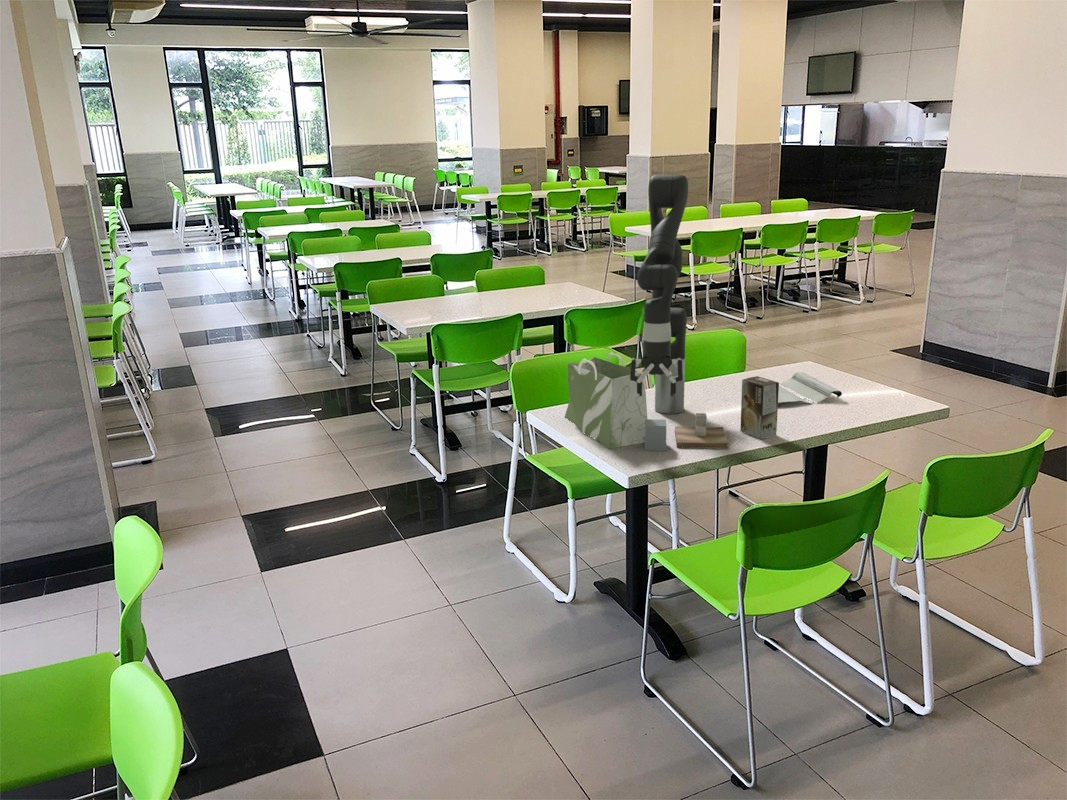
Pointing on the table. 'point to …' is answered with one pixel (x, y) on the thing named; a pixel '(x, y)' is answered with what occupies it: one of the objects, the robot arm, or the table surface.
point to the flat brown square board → (700, 435)
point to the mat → (805, 389)
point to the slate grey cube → (655, 435)
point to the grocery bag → (606, 402)
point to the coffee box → (759, 407)
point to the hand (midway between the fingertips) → (656, 395)
